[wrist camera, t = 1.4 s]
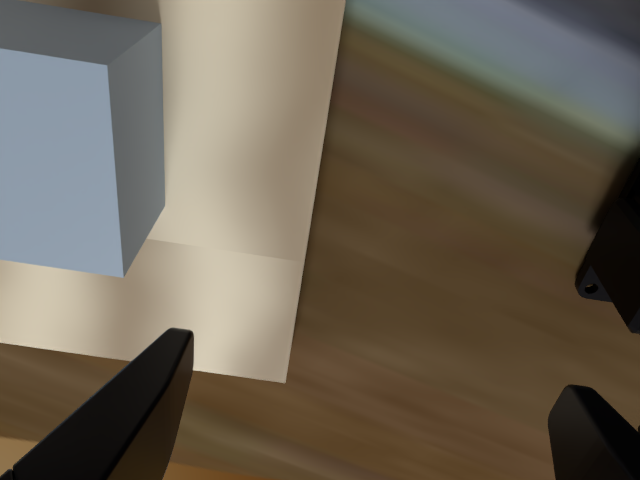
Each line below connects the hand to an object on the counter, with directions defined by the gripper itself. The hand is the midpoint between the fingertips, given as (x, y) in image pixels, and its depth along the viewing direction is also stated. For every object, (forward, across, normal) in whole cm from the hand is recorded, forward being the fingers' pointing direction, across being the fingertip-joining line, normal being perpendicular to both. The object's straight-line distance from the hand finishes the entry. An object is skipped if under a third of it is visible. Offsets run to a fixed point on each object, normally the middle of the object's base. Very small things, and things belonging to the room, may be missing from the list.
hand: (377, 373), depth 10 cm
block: (+9, +10, 0) cm, 13 cm away
